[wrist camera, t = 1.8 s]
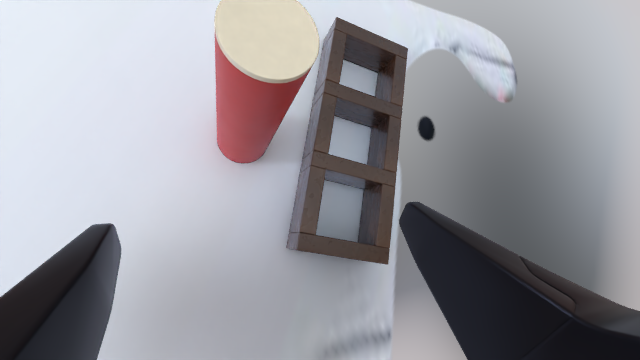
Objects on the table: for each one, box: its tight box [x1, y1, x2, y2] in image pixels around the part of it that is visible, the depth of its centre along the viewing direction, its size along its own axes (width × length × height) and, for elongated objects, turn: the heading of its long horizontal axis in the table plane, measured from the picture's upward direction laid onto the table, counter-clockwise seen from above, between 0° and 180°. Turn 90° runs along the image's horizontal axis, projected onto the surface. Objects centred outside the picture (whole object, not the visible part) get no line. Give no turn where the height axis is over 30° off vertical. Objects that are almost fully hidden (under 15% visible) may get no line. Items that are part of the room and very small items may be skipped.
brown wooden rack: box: [287, 17, 408, 264], centre depth 23 cm, size 19×7×3 cm, turn 169°
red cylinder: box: [215, 0, 319, 163], centre depth 16 cm, size 4×4×12 cm
